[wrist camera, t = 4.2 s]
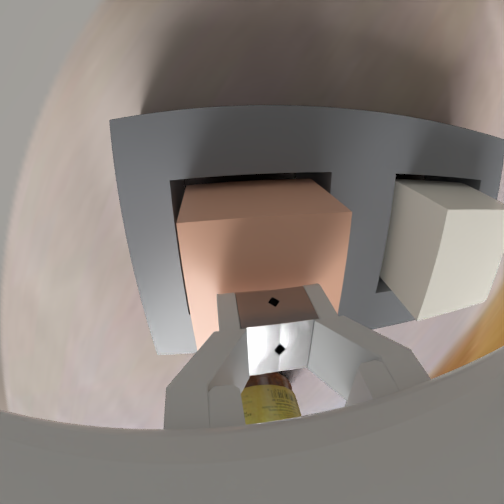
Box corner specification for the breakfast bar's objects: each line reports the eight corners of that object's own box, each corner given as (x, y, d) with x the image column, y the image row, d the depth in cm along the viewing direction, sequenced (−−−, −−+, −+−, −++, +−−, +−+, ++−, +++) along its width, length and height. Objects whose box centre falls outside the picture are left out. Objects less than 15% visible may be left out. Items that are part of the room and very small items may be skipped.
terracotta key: (310, 178, 12) (352, 211, 8) (304, 281, 14) (332, 338, 11) (186, 185, 11) (176, 223, 8) (198, 291, 14) (198, 354, 10)
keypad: (450, 125, 15) (505, 140, 11) (426, 269, 20) (464, 306, 16) (140, 115, 13) (109, 120, 9) (166, 297, 18) (157, 354, 14)
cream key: (462, 182, 13) (514, 210, 9) (444, 263, 15) (485, 301, 12) (391, 179, 12) (447, 209, 9) (376, 273, 15) (416, 321, 11)
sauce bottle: (210, 372, 22) (240, 625, 5) (289, 358, 23) (364, 603, 5) (226, 413, 25) (256, 610, 8) (292, 401, 26) (346, 593, 8)
